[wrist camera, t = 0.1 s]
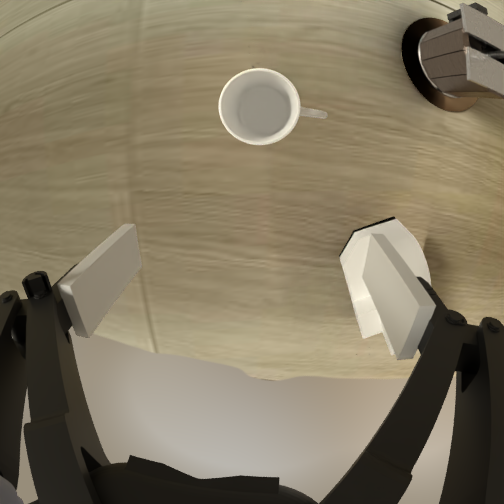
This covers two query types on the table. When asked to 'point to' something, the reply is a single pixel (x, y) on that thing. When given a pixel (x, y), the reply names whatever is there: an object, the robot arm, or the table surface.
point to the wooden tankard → (463, 55)
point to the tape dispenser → (355, 262)
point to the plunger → (485, 48)
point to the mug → (261, 106)
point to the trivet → (415, 74)
